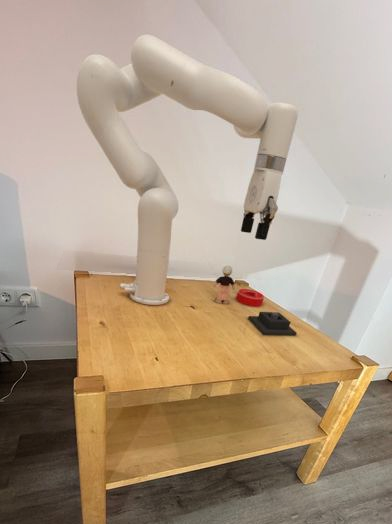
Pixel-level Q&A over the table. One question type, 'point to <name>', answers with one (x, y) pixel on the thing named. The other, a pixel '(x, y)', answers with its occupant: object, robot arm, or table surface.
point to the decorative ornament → (249, 297)
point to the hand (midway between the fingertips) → (252, 235)
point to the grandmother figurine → (224, 285)
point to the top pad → (273, 321)
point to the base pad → (271, 331)
